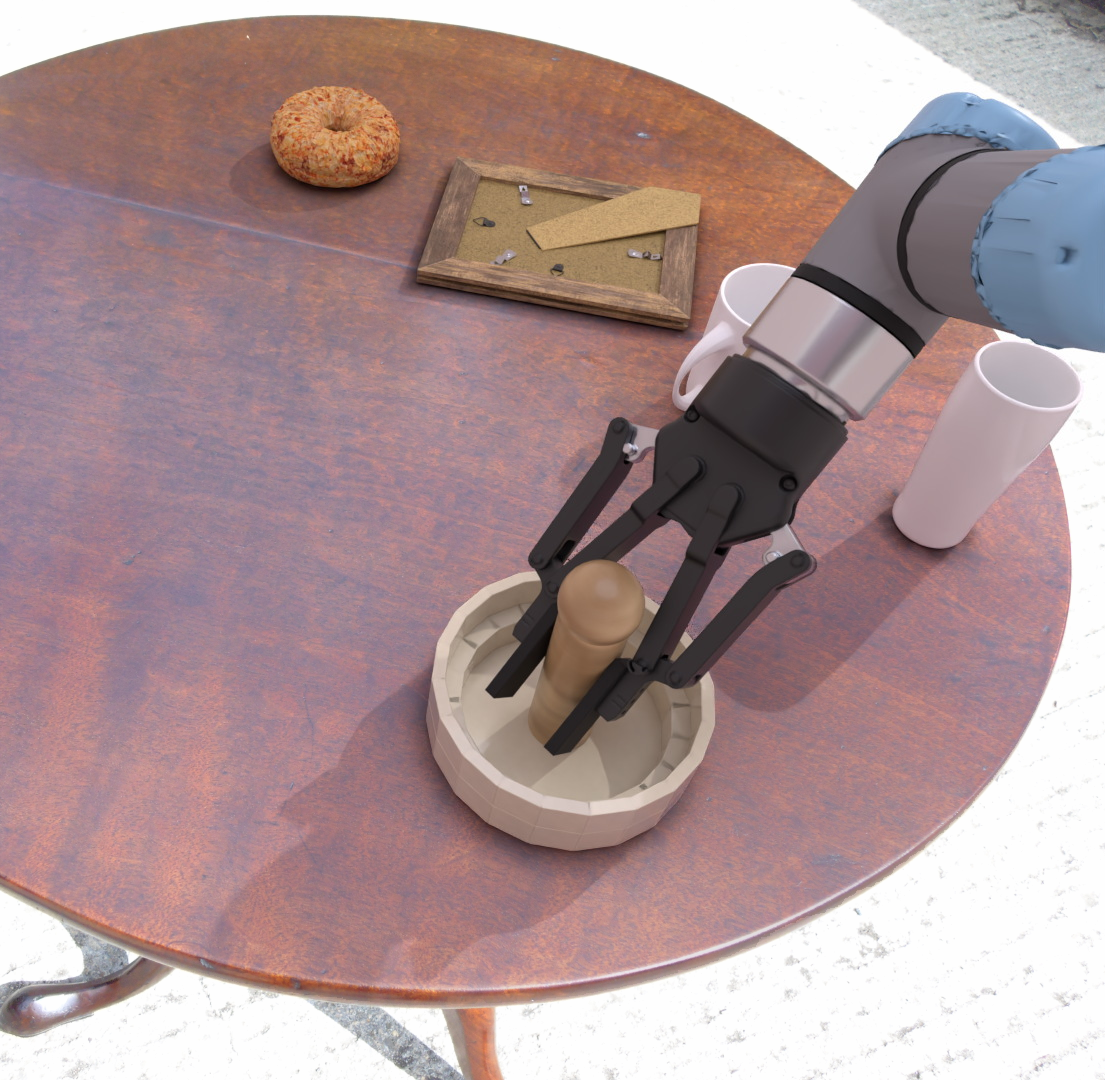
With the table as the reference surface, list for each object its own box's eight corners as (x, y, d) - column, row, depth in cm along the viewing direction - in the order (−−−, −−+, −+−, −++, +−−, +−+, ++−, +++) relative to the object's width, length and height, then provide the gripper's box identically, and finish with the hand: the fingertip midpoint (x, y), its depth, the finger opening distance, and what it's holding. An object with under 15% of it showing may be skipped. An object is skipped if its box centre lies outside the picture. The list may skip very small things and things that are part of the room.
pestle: (606, 709, 68) (666, 563, 56) (581, 767, 65) (637, 627, 53) (539, 679, 69) (583, 529, 57) (511, 735, 66) (551, 591, 54)
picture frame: (696, 210, 103) (455, 170, 106) (701, 194, 102) (457, 153, 104) (685, 333, 92) (416, 284, 94) (691, 316, 90) (417, 267, 93)
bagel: (253, 184, 103) (250, 136, 99) (292, 112, 111) (290, 66, 107) (383, 206, 101) (385, 159, 98) (413, 132, 110) (416, 85, 106)
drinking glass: (885, 478, 82) (977, 326, 70) (976, 507, 81) (1086, 356, 69) (873, 541, 78) (969, 391, 66) (969, 572, 77) (1085, 424, 65)
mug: (627, 396, 87) (659, 290, 78) (746, 357, 90) (788, 252, 82) (689, 469, 82) (730, 364, 73) (812, 425, 85) (864, 320, 77)
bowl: (721, 681, 70) (747, 635, 66) (640, 903, 61) (664, 866, 56) (490, 582, 74) (500, 532, 70) (380, 775, 65) (384, 732, 61)
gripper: (943, 493, 55) (659, 819, 61) (686, 322, 63) (455, 627, 69) (933, 472, 49) (617, 839, 55) (648, 285, 57) (398, 624, 62)
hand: (528, 720), depth 62 cm, fingers closed on pestle, 4 cm apart
